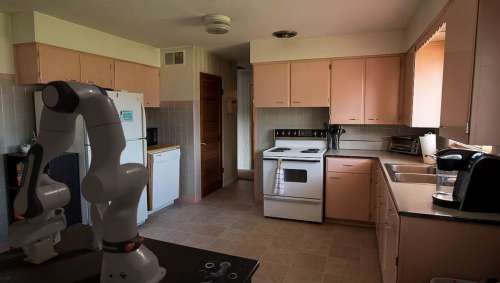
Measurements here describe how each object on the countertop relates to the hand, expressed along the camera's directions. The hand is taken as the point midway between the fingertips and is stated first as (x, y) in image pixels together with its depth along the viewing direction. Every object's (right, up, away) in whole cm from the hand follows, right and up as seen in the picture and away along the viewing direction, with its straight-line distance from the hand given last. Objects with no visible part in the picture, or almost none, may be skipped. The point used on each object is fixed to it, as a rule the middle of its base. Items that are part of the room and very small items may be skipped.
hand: (40, 248), depth 116 cm
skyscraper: (+19, -3, +10) cm, 22 cm away
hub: (0, -4, 0) cm, 4 cm away
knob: (0, -3, 0) cm, 3 cm away
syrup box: (-5, -3, +13) cm, 14 cm away
